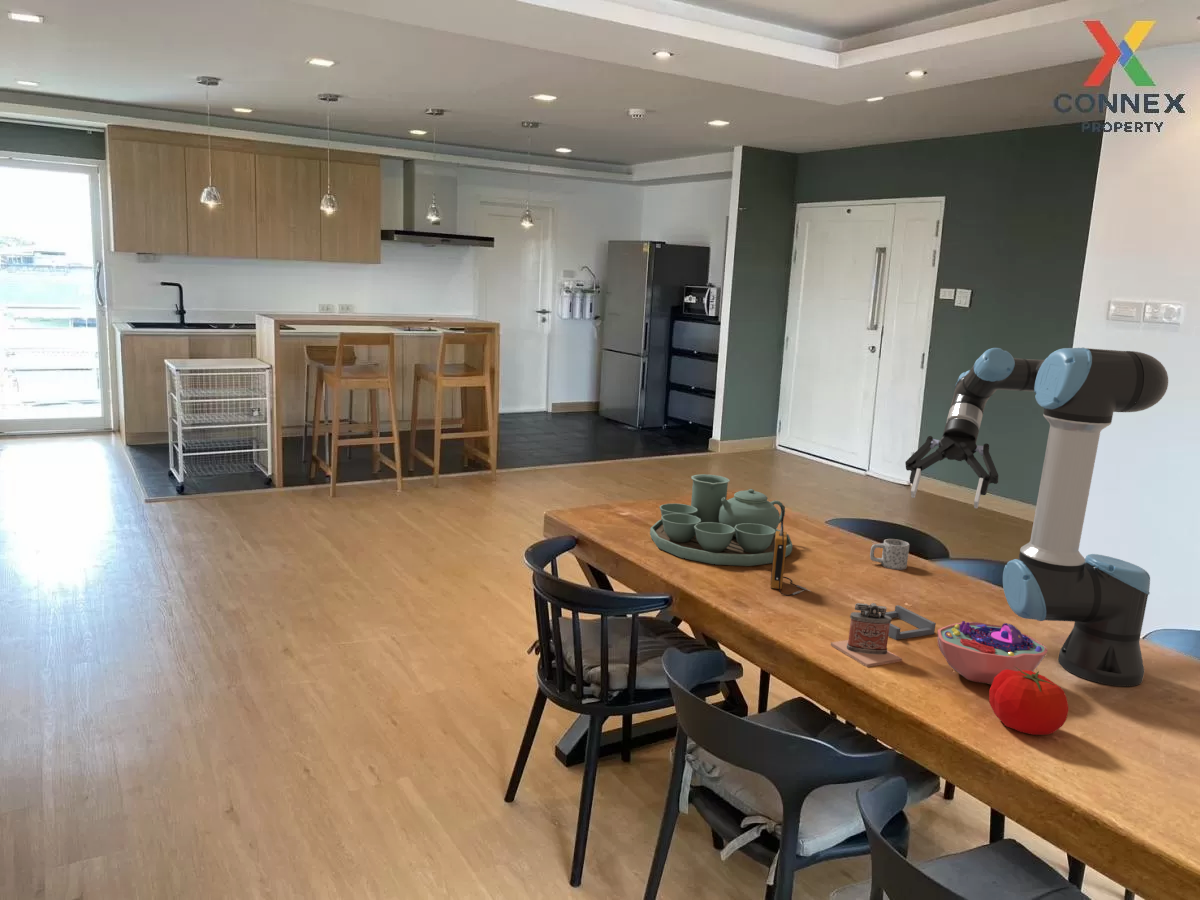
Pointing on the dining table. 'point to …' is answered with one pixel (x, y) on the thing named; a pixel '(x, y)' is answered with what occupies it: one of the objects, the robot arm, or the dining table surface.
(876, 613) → the lighter
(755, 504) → the tea set
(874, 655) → the mat
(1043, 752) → the dining table surface
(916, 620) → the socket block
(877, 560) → the mug
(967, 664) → the cell model
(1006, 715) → the tomato
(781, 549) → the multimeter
